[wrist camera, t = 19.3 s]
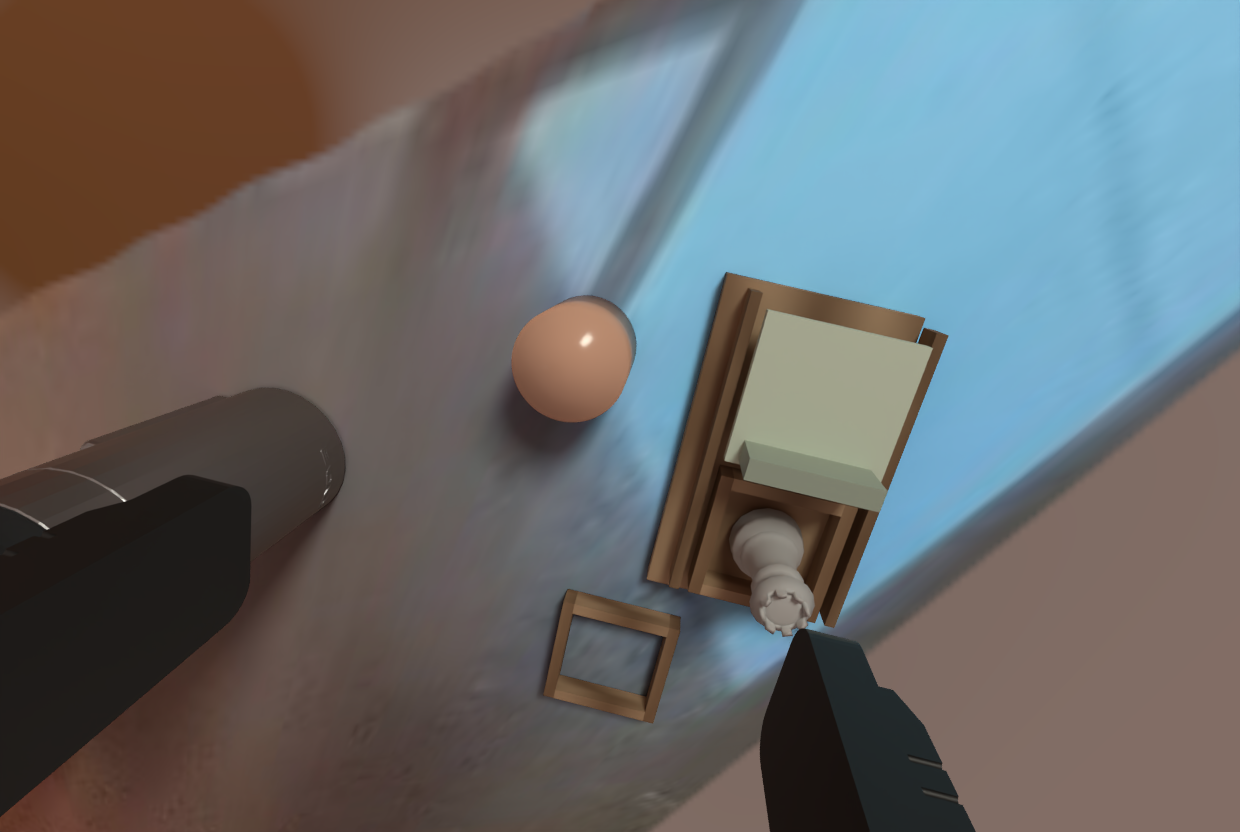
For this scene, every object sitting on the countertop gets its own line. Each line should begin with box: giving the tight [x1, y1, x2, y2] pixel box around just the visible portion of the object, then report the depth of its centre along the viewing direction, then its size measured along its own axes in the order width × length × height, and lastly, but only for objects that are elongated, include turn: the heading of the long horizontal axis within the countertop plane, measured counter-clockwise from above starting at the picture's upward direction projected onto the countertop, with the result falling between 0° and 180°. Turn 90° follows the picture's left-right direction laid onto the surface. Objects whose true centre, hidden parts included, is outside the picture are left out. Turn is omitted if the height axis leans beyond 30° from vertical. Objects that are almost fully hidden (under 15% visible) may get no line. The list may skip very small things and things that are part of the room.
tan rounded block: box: [512, 295, 636, 422], centre depth 33 cm, size 6×6×6 cm
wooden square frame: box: [543, 589, 680, 723], centre depth 41 cm, size 8×8×2 cm
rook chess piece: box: [729, 508, 815, 637], centre depth 33 cm, size 4×4×8 cm
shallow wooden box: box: [647, 272, 948, 628], centre depth 35 cm, size 12×20×3 cm, turn 168°
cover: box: [724, 309, 933, 512], centre depth 30 cm, size 8×8×4 cm
